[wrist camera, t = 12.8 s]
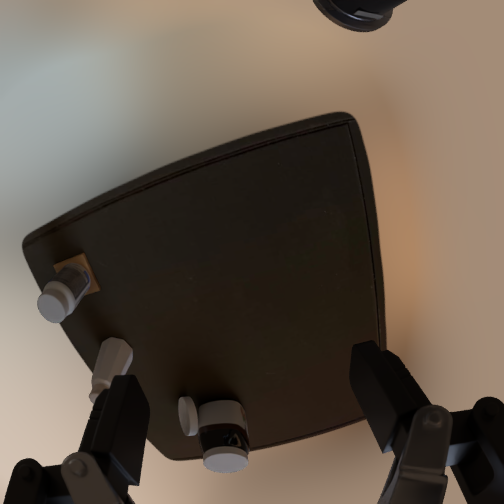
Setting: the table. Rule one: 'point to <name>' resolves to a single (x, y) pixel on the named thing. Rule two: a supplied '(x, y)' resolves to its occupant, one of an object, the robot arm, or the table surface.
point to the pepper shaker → (110, 364)
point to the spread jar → (218, 432)
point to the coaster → (84, 262)
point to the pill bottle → (63, 292)
